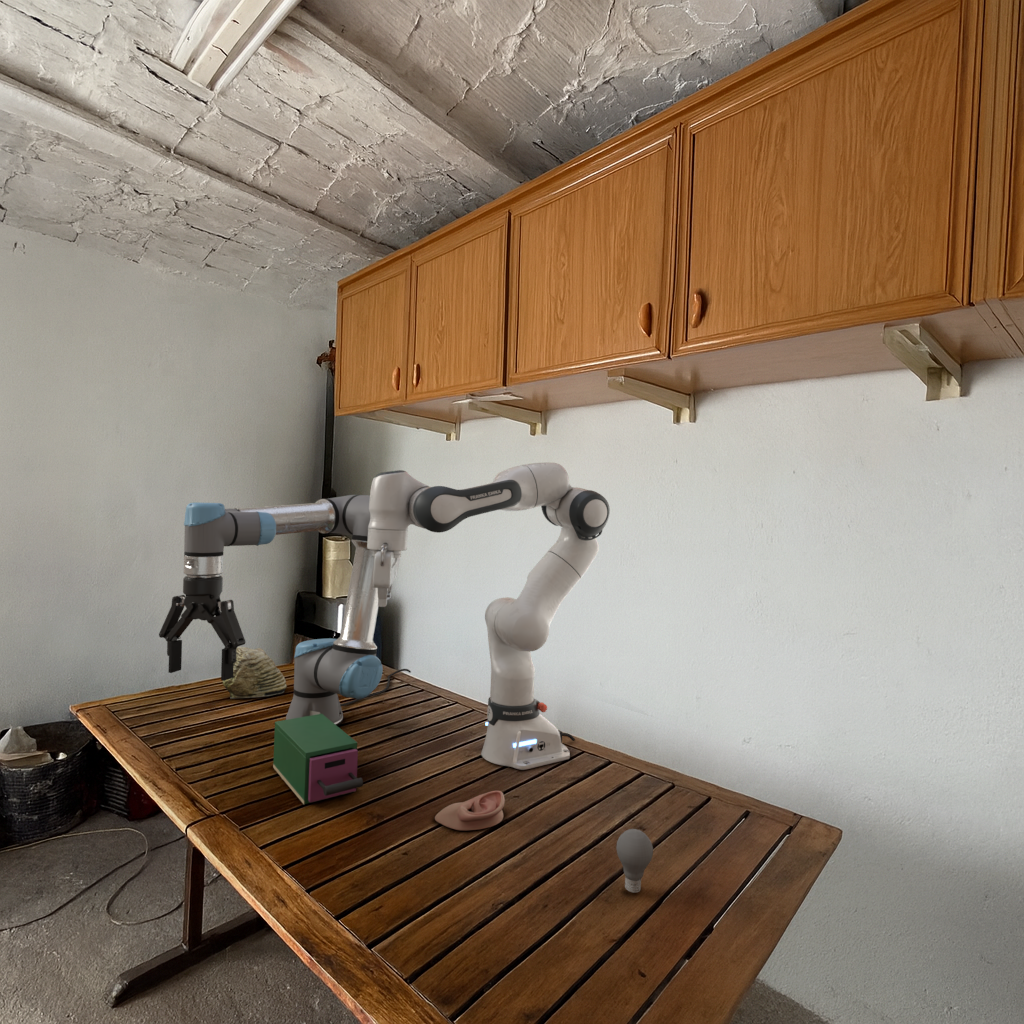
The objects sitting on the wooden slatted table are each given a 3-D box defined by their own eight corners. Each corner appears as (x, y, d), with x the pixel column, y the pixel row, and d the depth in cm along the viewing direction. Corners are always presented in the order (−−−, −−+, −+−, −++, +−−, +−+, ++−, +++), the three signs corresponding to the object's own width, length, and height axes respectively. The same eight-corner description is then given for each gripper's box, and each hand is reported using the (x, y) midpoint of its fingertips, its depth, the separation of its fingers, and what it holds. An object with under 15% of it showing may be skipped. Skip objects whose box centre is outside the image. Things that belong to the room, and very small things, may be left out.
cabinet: (355, 791, 137) (357, 742, 137) (303, 804, 130) (305, 753, 130) (320, 757, 154) (322, 713, 153) (273, 767, 147) (274, 721, 147)
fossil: (218, 695, 195) (220, 647, 195) (278, 685, 208) (279, 640, 207) (228, 703, 189) (230, 653, 188) (289, 692, 201) (290, 645, 201)
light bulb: (610, 879, 108) (613, 822, 108) (644, 879, 109) (647, 822, 109) (619, 902, 102) (622, 840, 102) (655, 901, 103) (658, 840, 103)
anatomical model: (430, 806, 123) (447, 781, 135) (429, 826, 123) (447, 799, 135) (496, 815, 121) (508, 789, 132) (495, 836, 121) (508, 808, 132)
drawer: (367, 801, 130) (369, 759, 130) (320, 814, 124) (321, 770, 124) (322, 758, 151) (324, 721, 151) (280, 767, 145) (281, 729, 145)
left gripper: (141, 573, 134) (139, 672, 134) (240, 582, 127) (237, 687, 127) (170, 569, 141) (167, 663, 142) (264, 577, 134) (261, 677, 134)
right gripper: (398, 545, 133) (394, 611, 133) (404, 539, 153) (401, 596, 153) (367, 544, 132) (364, 610, 132) (377, 538, 153) (375, 595, 153)
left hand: (200, 675), depth 134 cm, fingers open, 13 cm apart
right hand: (384, 602), depth 143 cm, fingers open, 8 cm apart
